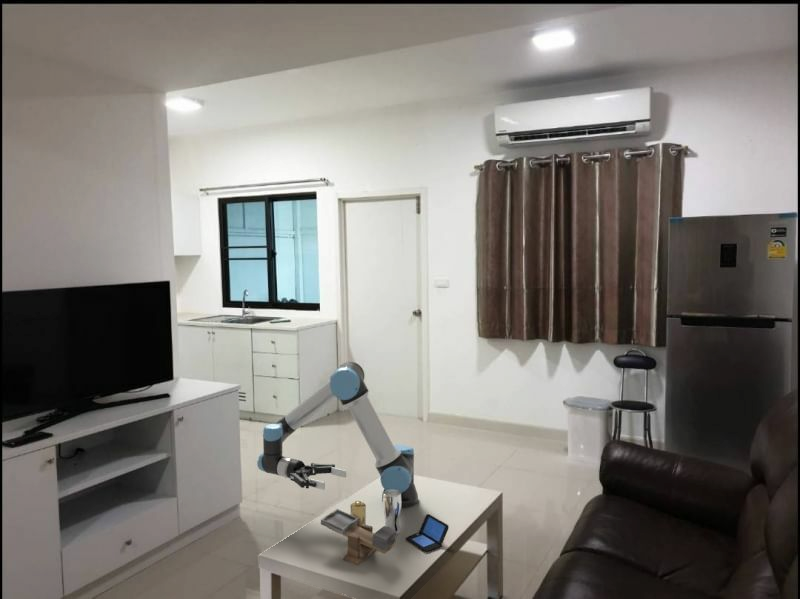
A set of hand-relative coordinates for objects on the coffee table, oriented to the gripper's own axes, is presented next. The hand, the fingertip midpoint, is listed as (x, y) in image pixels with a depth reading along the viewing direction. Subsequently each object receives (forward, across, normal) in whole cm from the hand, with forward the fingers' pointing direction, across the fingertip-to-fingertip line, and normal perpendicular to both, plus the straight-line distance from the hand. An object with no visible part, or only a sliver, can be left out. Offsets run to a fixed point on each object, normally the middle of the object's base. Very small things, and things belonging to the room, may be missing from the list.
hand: (335, 479), depth 227 cm
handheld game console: (+36, -8, -19) cm, 41 cm away
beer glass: (+20, -8, -19) cm, 29 cm away
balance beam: (+18, +12, -12) cm, 25 cm away
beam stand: (+19, +12, -19) cm, 29 cm away
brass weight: (+10, 0, -19) cm, 21 cm away
